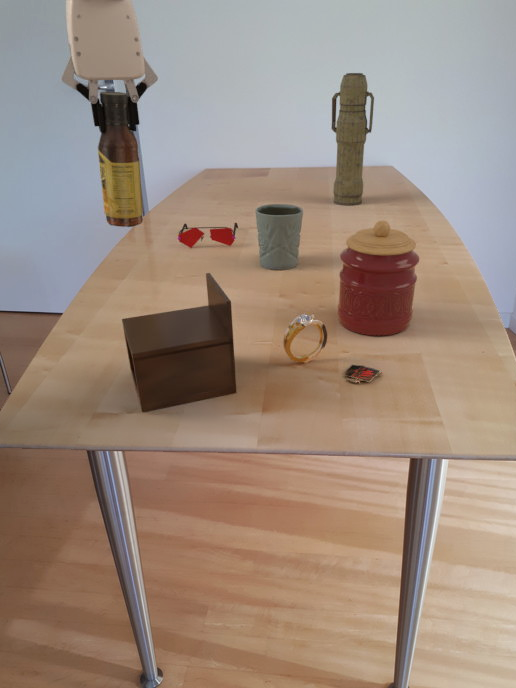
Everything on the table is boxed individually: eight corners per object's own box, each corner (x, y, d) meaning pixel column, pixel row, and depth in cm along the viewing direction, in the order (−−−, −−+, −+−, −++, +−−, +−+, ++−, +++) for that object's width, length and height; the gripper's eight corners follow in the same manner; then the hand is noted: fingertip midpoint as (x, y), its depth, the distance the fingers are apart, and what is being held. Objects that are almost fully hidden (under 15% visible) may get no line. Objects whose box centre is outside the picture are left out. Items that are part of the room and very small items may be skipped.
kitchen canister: (427, 326, 94) (441, 224, 85) (367, 344, 89) (375, 238, 80) (379, 300, 104) (388, 206, 95) (322, 315, 99) (326, 217, 90)
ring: (288, 371, 82) (288, 323, 78) (280, 361, 84) (280, 314, 80) (330, 362, 84) (332, 315, 80) (321, 353, 87) (322, 306, 82)
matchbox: (349, 365, 83) (349, 362, 83) (383, 370, 81) (383, 368, 81) (342, 381, 79) (342, 378, 79) (377, 386, 78) (377, 384, 77)
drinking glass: (247, 263, 122) (245, 209, 116) (279, 252, 128) (279, 200, 122) (280, 274, 116) (279, 218, 110) (311, 262, 122) (312, 208, 116)
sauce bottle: (112, 218, 95) (100, 90, 86) (147, 220, 95) (140, 92, 86) (100, 227, 89) (86, 91, 80) (138, 230, 90) (128, 94, 80)
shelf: (142, 412, 73) (125, 317, 66) (131, 373, 82) (115, 285, 75) (236, 392, 77) (231, 301, 70) (216, 357, 86) (209, 272, 79)
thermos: (329, 197, 174) (334, 72, 156) (367, 199, 172) (376, 72, 154) (326, 204, 166) (331, 74, 148) (365, 206, 165) (375, 74, 147)
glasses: (178, 249, 131) (175, 228, 129) (186, 229, 146) (184, 210, 143) (236, 248, 132) (235, 227, 129) (238, 228, 146) (237, 209, 143)
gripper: (153, -8, 82) (166, 126, 91) (33, -12, 77) (60, 130, 86) (163, -12, 76) (175, 131, 85) (33, -17, 70) (62, 136, 80)
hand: (117, 129), depth 85 cm, fingers closed on sauce bottle, 4 cm apart
